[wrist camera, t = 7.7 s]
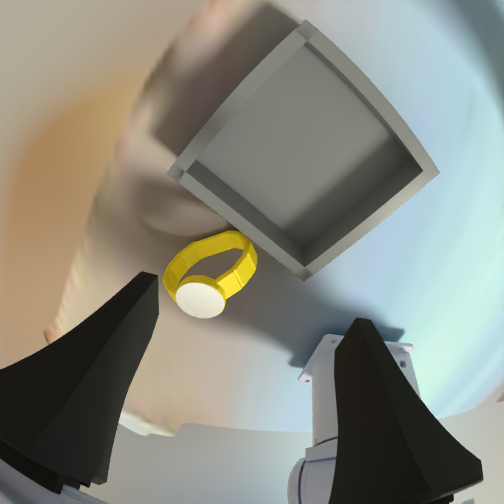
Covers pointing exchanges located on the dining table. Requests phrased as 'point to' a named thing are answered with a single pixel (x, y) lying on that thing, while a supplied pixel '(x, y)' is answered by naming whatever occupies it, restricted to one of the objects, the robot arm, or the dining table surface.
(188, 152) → the box
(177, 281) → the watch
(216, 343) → the dining table surface
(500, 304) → the dining table surface
